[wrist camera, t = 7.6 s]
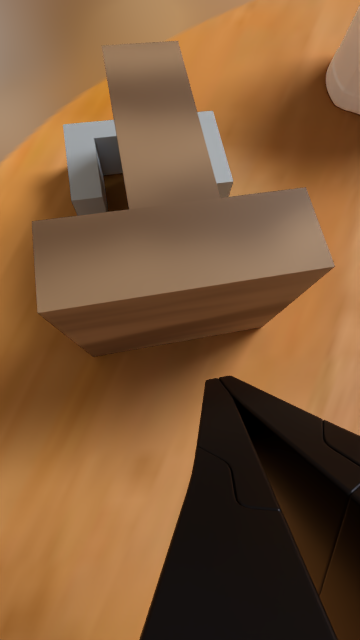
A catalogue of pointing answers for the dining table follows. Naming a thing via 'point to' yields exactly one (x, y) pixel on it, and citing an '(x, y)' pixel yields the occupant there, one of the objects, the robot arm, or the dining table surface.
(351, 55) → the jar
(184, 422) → the dining table surface
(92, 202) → the stop bracket
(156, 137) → the tee block
